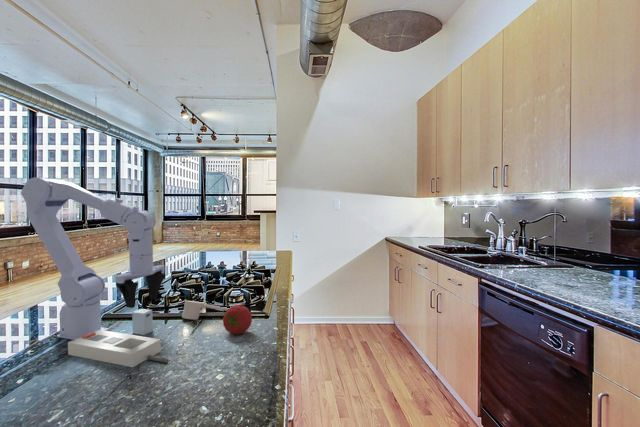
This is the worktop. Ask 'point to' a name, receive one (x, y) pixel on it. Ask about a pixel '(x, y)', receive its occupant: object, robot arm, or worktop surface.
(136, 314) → the block
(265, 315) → the worktop surface
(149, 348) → the power strip
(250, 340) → the worktop surface
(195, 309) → the toilet paper hanger
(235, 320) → the tomato
